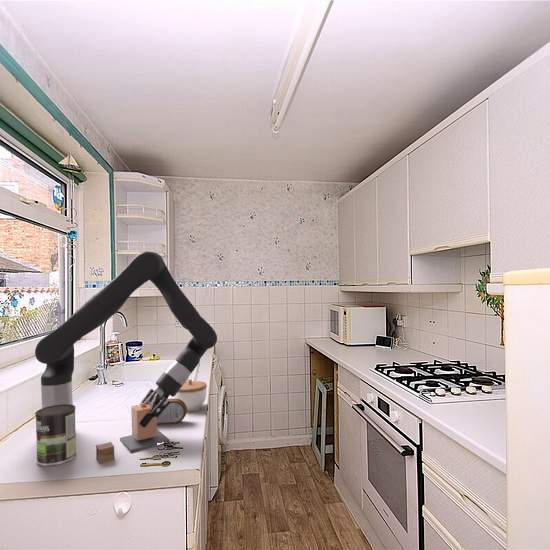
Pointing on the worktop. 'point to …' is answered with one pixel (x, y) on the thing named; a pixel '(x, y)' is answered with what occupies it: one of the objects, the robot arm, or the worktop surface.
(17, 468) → the worktop surface
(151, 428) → the tan upright box
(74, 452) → the coffee can
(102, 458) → the block
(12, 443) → the worktop surface
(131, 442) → the plate
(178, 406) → the tin
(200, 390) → the lidded bowl
